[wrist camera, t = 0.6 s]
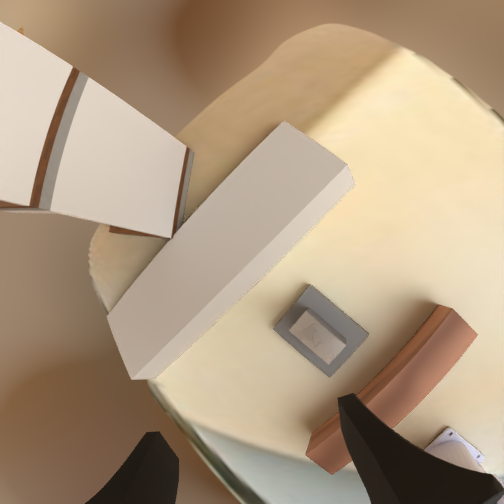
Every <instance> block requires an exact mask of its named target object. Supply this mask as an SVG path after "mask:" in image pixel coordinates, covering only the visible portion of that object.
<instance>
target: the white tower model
mask: <svg viewBox="0 0 504 504" xmlns="http://www.w3.org/2000/svg"><path fill="white" fill-rule="evenodd" d="M193 157H194V152H193V151H192V150H191V149H189V148H188V147H187V146H185V145H184V144H183V143H181V142H180V141H178V140H177V139H176V138H174V137H173V136H172V135H170V134H169V133H167V132H166V131H165V130H164V129H162V128H160V127H159V126H158V125H157V124H155V123H154V122H153V121H151V120H150V119H148V118H147V117H145V116H144V115H143V114H141V113H140V112H139V111H137V110H136V109H134V108H133V107H131V106H130V105H129V104H127V103H126V102H124V101H123V100H122V99H120V98H119V97H117V96H116V95H114V94H113V93H111V92H110V91H108V90H107V89H106V88H104V87H103V86H101V85H100V84H98V83H97V82H95V81H94V80H92V79H91V78H89V77H88V76H86V75H85V74H83V73H82V72H80V71H79V70H77V69H76V68H74V67H73V66H71V65H69V64H68V63H67V62H65V61H63V60H62V59H60V58H59V57H57V56H56V55H54V54H52V53H51V52H49V51H48V50H46V49H44V48H43V47H41V46H40V45H38V44H36V43H35V42H33V41H32V40H30V39H28V38H27V37H25V36H23V35H22V34H20V33H18V32H17V31H15V30H13V29H12V28H10V27H8V26H6V25H5V24H3V23H1V22H0V210H2V211H7V212H11V213H57V214H62V215H67V216H71V217H76V218H80V219H85V220H89V221H93V222H98V223H102V224H107V225H110V231H109V232H111V233H117V234H124V235H135V236H145V237H155V238H165V239H171V238H173V236H174V234H175V233H176V232H177V231H178V230H179V229H180V228H181V226H182V223H183V217H184V210H185V204H186V197H187V191H188V185H189V180H190V174H191V168H192V163H193Z"/></svg>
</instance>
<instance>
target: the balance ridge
mask: <svg viewBox="0 0 504 504" xmlns="http://www.w3.org/2000/svg"><path fill="white" fill-rule="evenodd" d="M273 330H274V331H276V332H277V333H278V334H279V335H280V336H281V337H282V338H284V339H285V340H286V341H287V342H288V343H289V344H291V345H292V346H293V347H294V348H295V349H296V350H297V351H299V352H300V353H301V354H302V355H303V356H304V357H306V358H307V359H308V360H309V361H310V362H312V363H313V364H314V365H315V366H316V367H317V368H319V369H320V370H321V371H322V372H323V373H325V374H326V375H327V376H328V377H329V378H330V377H331V376H332V375H333V374H334V373H335V372H336V371H337V370H338V368H339V367H340V366H341V365H342V364H343V363H344V362H345V361H346V360H347V359H348V358H349V357H350V356H351V355H352V353H353V352H354V351H355V350H356V349H357V348H358V347H359V346H360V345H361V343H362V342H363V341H364V340H365V339H366V338H367V337H368V335H369V334H368V332H366V331H365V330H364V329H363V328H362V327H361V326H359V325H358V324H357V323H356V322H355V321H353V320H352V319H351V318H350V317H349V316H348V315H346V314H345V313H344V312H343V311H342V310H340V309H339V308H338V307H337V306H336V305H335V304H333V303H332V302H331V301H330V300H329V299H327V298H326V297H325V296H324V295H323V294H321V293H320V292H319V291H318V290H317V289H315V288H314V287H313V286H312V285H309V286H308V288H307V289H306V290H305V291H304V293H303V294H302V295H301V296H300V297H299V299H298V300H297V301H296V302H295V303H294V305H293V306H292V307H291V308H290V309H289V311H288V312H287V313H286V314H285V315H284V316H283V318H282V319H281V320H280V321H279V322H278V323H277V325H276V326H275V327H274V328H273Z"/></svg>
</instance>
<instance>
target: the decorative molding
mask: <svg viewBox="0 0 504 504" xmlns="http://www.w3.org/2000/svg"><path fill="white" fill-rule="evenodd" d="M355 185H356V184H355V181H354V179H353V176H352V174H351V171H350V169H349V166H348V164H346V163H345V162H344V161H342V160H341V159H340V158H338V157H337V156H335V155H334V154H333V153H331V152H330V151H328V150H327V149H326V148H324V147H323V146H321V145H320V144H318V143H317V142H316V141H314V140H313V139H311V138H310V137H308V136H307V135H305V134H304V133H302V132H301V131H299V130H298V129H296V128H295V127H293V126H291V125H290V124H288V123H287V122H285V121H283V122H282V123H281V124H280V125H279V126H278V127H277V128H276V129H275V130H274V131H273V132H271V133H270V134H269V135H268V136H267V137H266V138H265V139H264V140H263V141H262V142H261V143H260V144H259V145H258V146H257V147H256V148H255V149H254V150H253V151H252V152H251V153H250V154H249V155H248V156H247V157H246V158H245V159H244V160H243V161H242V162H241V163H240V164H239V165H238V166H237V167H236V168H235V169H234V170H233V171H232V173H231V174H230V175H229V176H228V177H227V178H226V179H225V180H224V181H223V182H222V183H221V184H220V185H219V186H218V187H217V188H216V189H215V190H214V191H213V192H212V194H211V195H210V196H209V197H208V198H207V199H206V200H205V201H204V202H203V203H202V204H201V205H200V207H199V208H198V209H197V210H196V211H195V212H194V213H193V214H192V215H191V216H190V218H189V219H188V220H187V221H186V222H185V223H184V224H183V225H182V226H181V228H180V229H179V230H178V231H177V232H176V233H175V234H174V236H173V238H171V239H170V240H169V241H168V242H167V244H166V245H165V246H164V247H163V248H162V249H161V250H160V252H159V253H158V254H157V255H156V256H155V258H154V259H153V260H152V261H151V262H150V263H149V265H148V266H147V267H146V268H145V269H144V271H143V272H142V273H141V274H140V275H139V277H138V278H137V279H136V280H135V282H134V283H133V284H132V285H131V286H130V288H129V289H128V290H127V291H126V293H125V294H124V295H123V296H122V298H121V299H120V300H119V301H118V303H117V304H116V305H115V306H114V308H113V309H112V310H111V312H110V313H109V314H108V315H107V319H108V322H109V325H110V328H111V331H112V333H113V336H114V339H115V341H116V344H117V347H118V349H119V352H120V354H121V356H122V359H123V361H124V363H125V366H126V368H127V371H128V373H129V375H130V378H131V379H154V378H156V377H157V376H158V375H160V374H161V373H162V372H163V371H164V370H165V369H166V368H167V367H168V366H169V365H171V364H172V363H173V362H174V361H175V360H176V359H177V358H178V357H179V356H180V355H182V354H183V353H184V352H185V351H186V350H187V349H188V348H189V347H190V346H191V345H192V344H193V343H194V342H195V341H197V340H198V339H199V338H200V337H201V336H202V335H203V334H204V333H205V332H206V331H207V330H208V329H209V328H210V327H211V326H213V325H214V324H215V323H216V322H217V321H218V320H219V319H220V318H221V317H222V316H223V315H224V314H225V313H226V312H227V311H228V310H229V309H231V308H232V307H233V306H234V305H235V304H236V303H237V302H238V301H239V300H240V299H241V298H242V297H243V296H244V295H245V294H246V293H247V292H248V291H249V290H250V289H252V288H253V287H254V286H255V285H256V284H257V283H258V282H259V281H260V280H261V279H262V278H263V277H264V276H265V275H266V274H267V273H268V272H269V271H270V270H271V269H272V268H273V267H274V266H275V265H276V264H277V263H278V262H279V261H280V260H281V259H282V258H283V257H284V256H285V255H286V254H287V253H288V252H289V251H290V250H291V249H292V248H293V247H295V246H296V245H297V244H298V243H299V242H300V241H301V240H302V239H303V238H304V237H305V236H306V235H307V234H308V233H309V232H310V231H311V230H312V229H313V228H314V227H315V226H316V225H317V224H318V223H319V222H320V221H321V220H322V219H323V218H324V217H325V216H326V215H327V214H328V213H329V212H330V211H331V210H332V209H333V208H334V207H335V206H336V205H337V203H338V202H339V201H340V200H341V199H342V198H343V197H344V196H345V195H346V194H347V193H348V192H349V191H350V190H351V189H352V188H353V187H354V186H355Z"/></svg>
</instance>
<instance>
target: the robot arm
mask: <svg viewBox="0 0 504 504" xmlns="http://www.w3.org/2000/svg"><path fill="white" fill-rule="evenodd" d="M338 406H339V415H340V425H341V431H342V434H343V437H344V440H345V443H346V446H347V449H348V452H349V454H350V456H351V458H352V460H353V462H354V465H355V467H356V469H357V471H358V473H359V475H360V477H361V479H362V482H363V484H364V486H365V488H366V490H367V493H368V495H369V498H370V501H371V504H504V483H503V482H502V481H501V479H500V478H499V477H498V476H497V475H492V474H487V473H485V471H484V469H483V467H482V466H481V464H480V463H481V462H482V461H483V460H484V459H485V456H484V455H483V454H482V453H481V452H480V451H478V450H477V449H476V448H475V447H474V446H472V445H471V444H470V443H469V442H467V441H466V440H465V439H464V438H463V437H461V436H460V435H459V434H458V433H457V432H455V431H454V430H453V429H452V428H450V427H449V428H447V429H445V430H444V431H443V432H442V433H441V434H440V435H439V436H438V437H437V438H436V439H435V440H434V441H433V442H432V443H431V444H430V445H429V446H428V447H426V448H425V449H424V450H422V449H420V448H419V447H417V446H415V445H414V444H412V443H410V442H409V441H407V440H406V439H404V438H403V437H402V436H400V435H399V434H397V433H396V432H395V431H394V430H392V429H391V428H390V427H389V426H387V425H386V424H385V423H384V422H383V421H381V420H380V419H379V418H378V417H377V416H376V415H375V414H374V413H373V412H372V411H371V410H369V409H368V408H367V407H366V406H365V404H364V403H363V402H362V401H361V400H360V399H359V398H358V397H357V396H356V394H353V393H352V394H349V395H346V396H343V397H340V398H338ZM451 432H452V433H451ZM450 433H451V434H450ZM478 455H479V456H478ZM178 481H179V458H178V457H177V456H176V454H175V453H174V452H173V450H172V449H171V448H170V446H169V445H168V443H167V442H166V440H165V439H164V438H163V436H162V435H161V433H160V432H146V434H145V435H144V436H143V438H142V439H141V440H140V442H139V443H138V444H137V446H136V447H135V449H134V450H133V452H132V453H131V454H130V455H129V457H128V458H127V460H126V461H125V462H124V463H123V465H122V466H121V468H120V469H119V470H118V471H117V472H116V473H115V474H114V476H113V477H112V478H111V479H110V480H109V482H108V483H107V484H106V485H105V486H104V487H103V488H102V489H101V490H100V491H99V492H98V493H97V494H96V495H95V496H94V497H93V498H91V499H90V500H89V501H88V502H86V503H85V504H175V502H176V495H177V488H178Z"/></svg>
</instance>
